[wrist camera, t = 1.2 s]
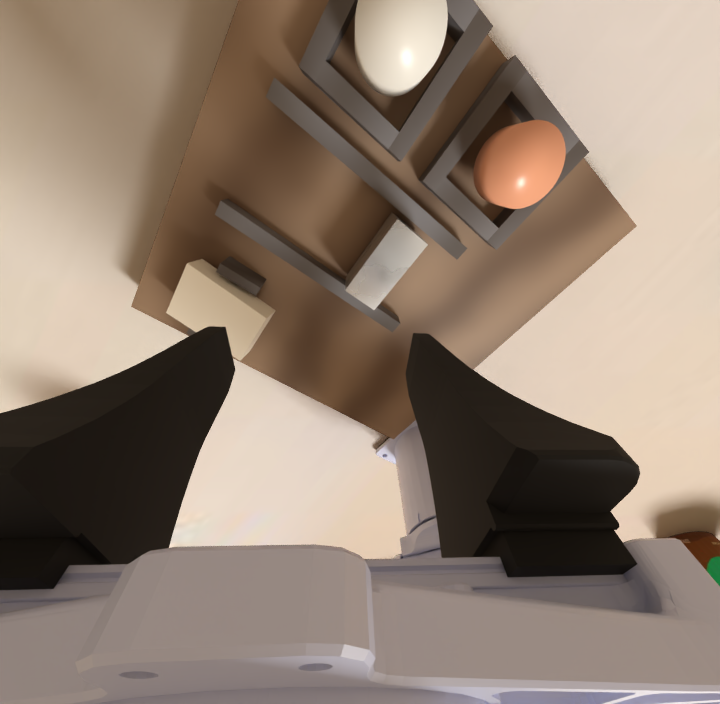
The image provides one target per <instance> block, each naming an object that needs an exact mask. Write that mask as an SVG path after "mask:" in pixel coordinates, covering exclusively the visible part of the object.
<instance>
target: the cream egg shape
mask: <svg viewBox="0 0 720 704" xmlns="http://www.w3.org/2000/svg"><path fill="white" fill-rule="evenodd" d="M447 20H448V12H447V2H446V0H358V3H357V8H356V15H355V43H354V45H355V55H356V61H357V64H358V67H359V70H360V72H361V74H362V76H363V78H364V80H365V81H366V83H367V84H368V85H369V86H370V87H371V88H372V89H373V90H374V91H376V92H378V93H379V94H382V95H385V96H391V97H395V96H400V95H403V94H406V93H408V92H409V91H411V90H412V89H413V88H415V87H416V86H417V85H418V84H419V83H420V81H421V80H422V79H423V78H424V77H425V76H426V74H427V73H428V72H429V71H430V70H431V68H432V67H433V65H434V64H435V62H436V60H437V59H438V57H439V54H440V52H441V50H442V47H443V44H444V40H445V36H446V30H447Z"/></svg>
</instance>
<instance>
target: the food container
mask: <svg viewBox="0 0 720 704" xmlns="http://www.w3.org/2000/svg"><path fill="white" fill-rule="evenodd" d="M668 538H676V539H678V540H680V541H681V542H682V543H683V544H684V545H685V546H686V548H687V549H688V550H689V551H690V552H691V553H692V555H693V556H694V557H695V558H696V559H697V560H698V562H699V563H700V564H701V565H702V566H703V567H704V569H705V570H706V571H707V572H708V573H709V574H710V576H711V577H712V578H713V579H714V580H715V581H716V583H717V584H718V585H719V586H720V541H719V540H718V539H717V538H716V537H715V536H714V535H713V534H711V533H708V532H688V533H683V534H678V535H674V536H671V537H668Z"/></svg>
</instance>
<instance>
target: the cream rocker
mask: <svg viewBox="0 0 720 704" xmlns="http://www.w3.org/2000/svg"><path fill="white" fill-rule="evenodd" d="M216 271H217V269H216V268H215V267H213V266H212V265H210V264H209V263H208V262H206V261H205V260H203V259H200V260H196V261H193V262H189V263H187V264H186V267H185V269H184V272H183V274H182V276H181V279H180V281H179V283H178V286H177V288H176V290H175V293H174V295H173V298H172V300H171V302H170V305H169V307H168V309H167V312H166V313H167V314H169V315H170V316H172V317H173V318H175V319H176V320H178V321H179V322H181V323H182V324H184V325H186V326H187V327H189V328H190V329H192V330H193V331H195V332H198V331H200V330H202V329H204V328H206V327H209V326H216V327H226V331H227V335H228V340H229V344H230V349H231V353H232V356H233V357H235V358H236V359H238V360H239V361H241V360H242V359H243V358H244V357H245V356H246V355H247V354H248V353H249V352H250V350H251V349H252V347H253V346H254V344H255V342H256V341H257V339H258V338H259V336H260V335H261V333H262V331H263V330H264V328H265V327H266V325H267V323H268V322H269V320H270V319H271V317H272V316H273V314H274V312H275V311H276V310H274V309H273V308H271V307H270V306H269V305H267V304H266V303H264V302H263V301H261V300H260V299H259V298H257V297H256V296H254V295H253V294H252V293H250V292H249V291H247V290H245V289H243V288H242V287H240V286H238V285H237V284H235V283H233V282H232V281H230V280H228V279H227V278H225V277H223V276H222V275H220V274H218V273H217V272H216Z"/></svg>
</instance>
